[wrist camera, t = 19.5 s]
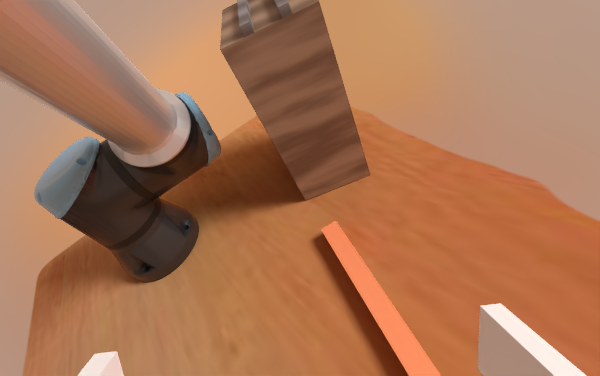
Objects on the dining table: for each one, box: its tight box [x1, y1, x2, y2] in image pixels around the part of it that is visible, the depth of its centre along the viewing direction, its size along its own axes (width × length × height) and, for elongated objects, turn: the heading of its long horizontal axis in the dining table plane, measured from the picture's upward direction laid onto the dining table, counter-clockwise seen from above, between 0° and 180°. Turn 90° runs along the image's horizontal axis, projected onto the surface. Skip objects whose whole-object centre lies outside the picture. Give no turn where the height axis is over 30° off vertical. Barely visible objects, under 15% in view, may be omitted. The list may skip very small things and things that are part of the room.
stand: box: [220, 0, 370, 200], centre depth 48 cm, size 18×12×30 cm, turn 11°
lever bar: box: [321, 221, 441, 376], centre depth 36 cm, size 26×3×3 cm, turn 23°
